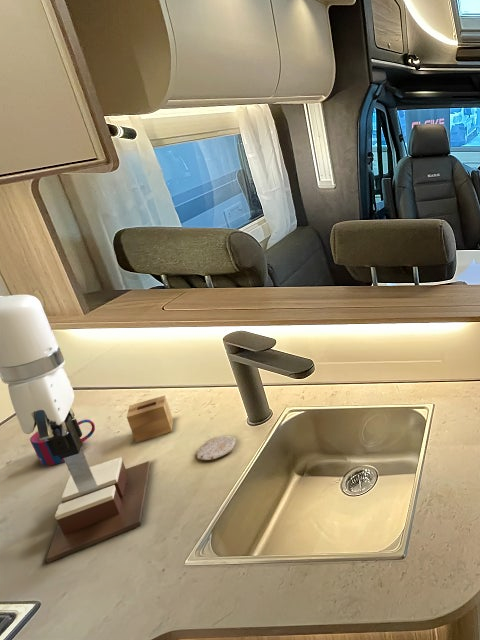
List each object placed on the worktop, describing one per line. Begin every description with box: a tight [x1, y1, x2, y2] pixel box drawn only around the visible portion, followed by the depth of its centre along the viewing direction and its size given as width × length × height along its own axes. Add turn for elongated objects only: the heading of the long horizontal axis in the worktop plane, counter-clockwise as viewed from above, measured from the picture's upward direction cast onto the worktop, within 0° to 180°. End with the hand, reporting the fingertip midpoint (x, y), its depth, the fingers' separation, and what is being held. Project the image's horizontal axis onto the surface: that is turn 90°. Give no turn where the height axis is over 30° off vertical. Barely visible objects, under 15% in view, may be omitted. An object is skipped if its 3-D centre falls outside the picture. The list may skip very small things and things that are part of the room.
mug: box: [29, 418, 96, 467], centre depth 98 cm, size 7×10×7 cm
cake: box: [61, 456, 128, 503], centre depth 87 cm, size 8×7×5 cm
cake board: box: [45, 460, 151, 564], centre depth 85 cm, size 13×18×1 cm
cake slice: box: [54, 485, 122, 535], centre depth 81 cm, size 8×3×5 cm, turn 125°
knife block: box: [126, 395, 174, 444], centre depth 104 cm, size 7×5×8 cm
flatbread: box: [196, 435, 237, 461], centre depth 100 cm, size 8×8×1 cm
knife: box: [50, 415, 98, 494], centre depth 79 cm, size 3×3×17 cm
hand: (68, 444), depth 78 cm, fingers closed on knife, 3 cm apart
